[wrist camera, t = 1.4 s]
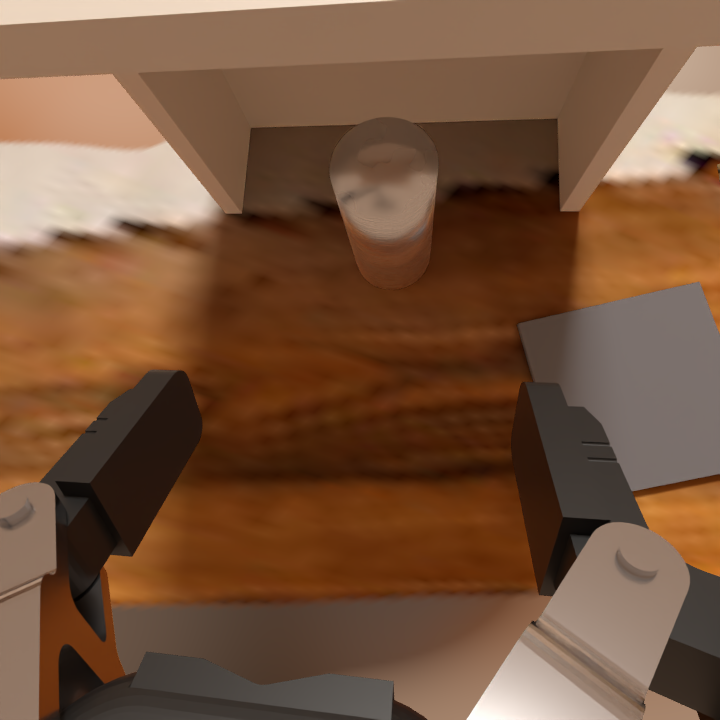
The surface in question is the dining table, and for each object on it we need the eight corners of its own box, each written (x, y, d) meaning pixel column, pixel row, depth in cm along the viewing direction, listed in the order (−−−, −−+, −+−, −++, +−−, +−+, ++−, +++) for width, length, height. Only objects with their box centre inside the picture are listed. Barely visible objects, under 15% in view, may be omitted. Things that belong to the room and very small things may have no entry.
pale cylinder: (364, 297, 30) (341, 228, 21) (349, 229, 31) (319, 132, 22) (438, 279, 30) (450, 200, 20) (420, 211, 31) (424, 105, 21)
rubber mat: (568, 502, 27) (570, 503, 26) (516, 325, 29) (518, 323, 29) (763, 463, 26) (769, 464, 26) (695, 284, 28) (699, 281, 28)
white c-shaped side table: (216, 294, 32) (-127, 32, 12) (237, 113, 34) (-18, -364, 14) (582, 299, 29) (977, -36, 9) (575, 102, 31) (872, -521, 11)
